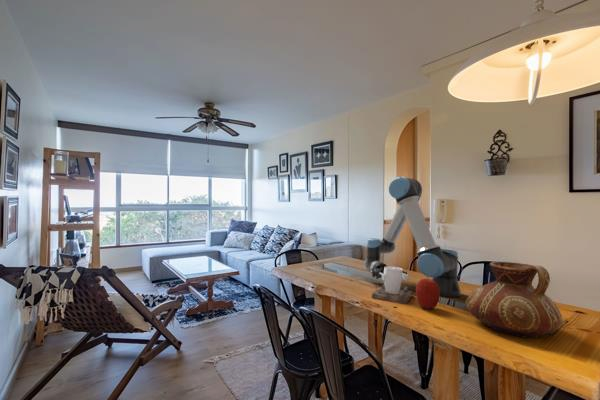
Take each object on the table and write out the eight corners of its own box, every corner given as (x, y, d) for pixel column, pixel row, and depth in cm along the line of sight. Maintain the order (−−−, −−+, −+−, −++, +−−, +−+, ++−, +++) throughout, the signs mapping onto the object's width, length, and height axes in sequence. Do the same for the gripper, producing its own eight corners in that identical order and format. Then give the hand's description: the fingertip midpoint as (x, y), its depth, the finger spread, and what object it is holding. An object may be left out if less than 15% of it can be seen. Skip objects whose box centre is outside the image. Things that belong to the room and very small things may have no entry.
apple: (426, 312, 130) (427, 279, 131) (410, 305, 140) (410, 274, 140) (445, 310, 134) (446, 278, 135) (427, 303, 144) (428, 273, 144)
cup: (401, 291, 156) (402, 267, 156) (402, 296, 148) (403, 270, 148) (382, 288, 159) (384, 265, 159) (382, 293, 150) (383, 268, 150)
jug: (453, 323, 119) (455, 258, 120) (480, 308, 139) (481, 252, 140) (552, 352, 97) (554, 272, 98) (567, 329, 117) (568, 263, 118)
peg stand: (411, 295, 156) (412, 286, 156) (406, 303, 142) (406, 293, 142) (380, 290, 164) (380, 281, 164) (371, 297, 150) (372, 288, 150)
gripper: (399, 276, 172) (419, 286, 150) (358, 275, 170) (372, 285, 148) (399, 262, 172) (419, 270, 151) (359, 261, 170) (373, 270, 148)
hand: (396, 278), depth 149 cm, fingers open, 11 cm apart
